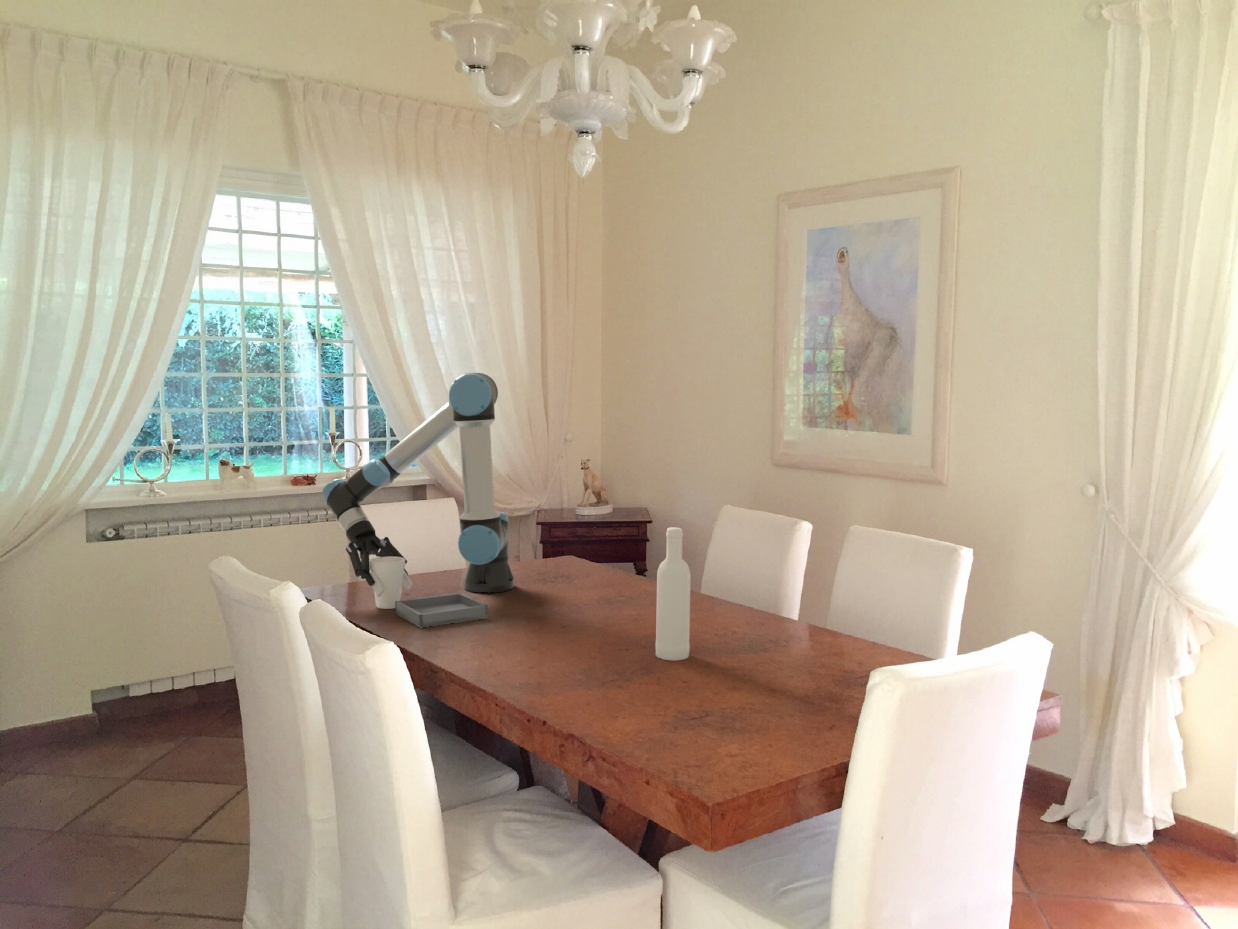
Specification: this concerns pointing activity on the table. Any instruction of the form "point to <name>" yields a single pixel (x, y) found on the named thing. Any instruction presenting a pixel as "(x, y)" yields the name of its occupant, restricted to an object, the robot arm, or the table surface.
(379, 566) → the foam cup
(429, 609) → the tray
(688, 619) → the bottle
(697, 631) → the table surface
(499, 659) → the table surface
